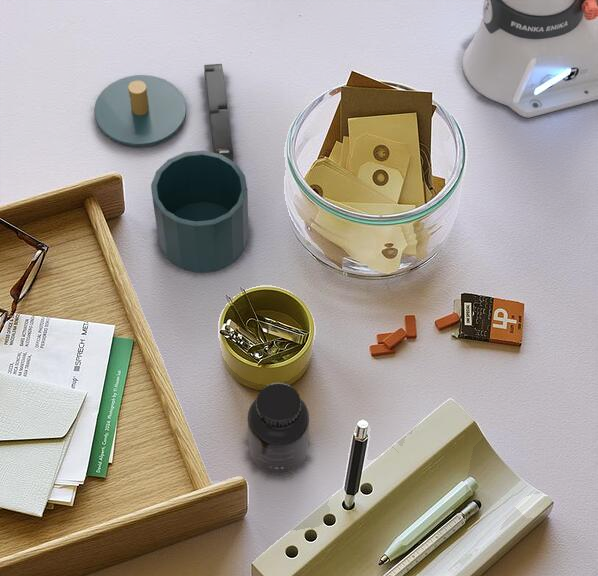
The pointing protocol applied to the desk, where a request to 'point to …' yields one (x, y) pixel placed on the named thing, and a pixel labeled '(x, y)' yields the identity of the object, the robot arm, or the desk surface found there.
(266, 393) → the supplement bottle
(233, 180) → the tin
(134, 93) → the lid
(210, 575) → the desk surface
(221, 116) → the grey notched bar
